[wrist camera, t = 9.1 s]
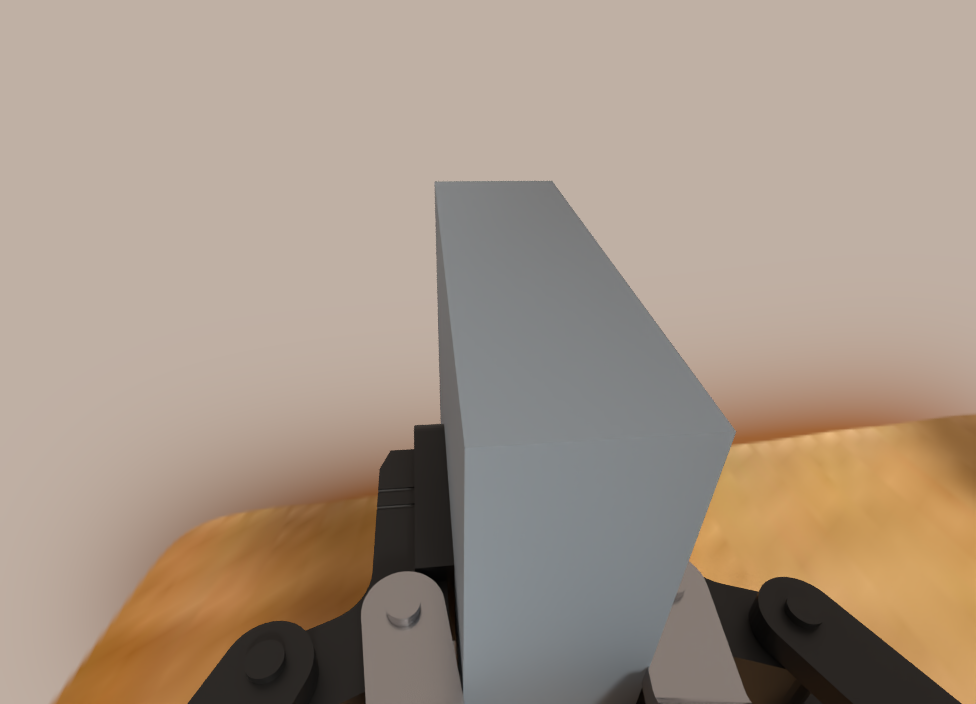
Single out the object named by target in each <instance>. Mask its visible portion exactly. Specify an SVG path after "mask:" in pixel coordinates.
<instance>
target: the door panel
mask: <svg viewBox="0 0 976 704" xmlns="http://www.w3.org/2000/svg"><path fill="white" fill-rule="evenodd" d="M435 215H436V255H437V290H438V291H437V293H438V331H439V332H438V333H439V371H440V410H441V424H444V428H445V442H446V456H447V470H448V484H449V498H450V512H451V526H452V540H453V554H454V582H455V641H453V646H454V651H455V656H456V662H457V667H458V672H459V677H460V682H461V687H462V693H463V698H464V703H465V704H636V702H637V700H638V697H639V694H640V691H641V689H642V684H641V683H642V680H643V677H644V675H645V672H646V669H647V666H650V664H651V662H652V659H653V656H654V653H655V651H656V648H657V645H658V643H659V640H660V637H661V634H662V632H663V629H664V626H665V624H666V621H667V618H668V615H669V613H670V610H671V607H672V605H673V602H674V599H675V596H676V594H677V591H678V588H679V585H680V583H681V580H682V577H683V575H684V572H685V569H686V566H687V564H688V561H689V558H690V556H691V553H692V550H693V547H694V545H695V542H696V539H697V537H698V534H699V531H700V528H701V526H702V523H703V520H704V518H705V515H706V512H707V509H708V507H709V504H710V501H711V499H712V496H713V493H714V490H715V488H716V485H717V482H718V480H719V477H720V474H721V471H722V469H723V466H724V463H725V461H726V458H727V455H728V452H729V450H730V447H731V444H732V442H733V438H734V436H735V433H736V431H735V429H734V428H733V427H732V425H731V424H730V423H729V421H728V420H727V419H726V417H725V416H724V415H723V413H722V412H721V410H720V409H719V408H718V406H717V405H716V404H715V402H714V401H713V400H712V398H711V397H710V395H709V394H708V393H707V391H706V390H705V389H704V387H703V386H702V385H701V383H700V382H699V380H698V379H697V378H696V376H695V375H694V374H693V372H692V371H691V370H690V368H689V367H688V366H687V364H686V363H685V361H684V360H683V359H682V357H681V356H680V355H679V353H678V352H677V350H676V349H675V348H674V346H673V345H672V344H671V342H670V341H669V340H668V339H667V337H666V336H665V334H664V333H663V332H662V330H661V329H660V328H659V326H658V325H657V323H656V322H655V321H654V319H653V318H652V316H651V315H650V314H649V312H648V311H647V310H646V308H645V307H644V306H643V304H642V303H641V302H640V300H639V299H638V297H637V296H636V295H635V293H634V292H633V291H632V289H631V288H630V286H629V285H628V284H627V282H626V281H625V280H624V278H623V277H622V276H621V274H620V273H619V272H618V270H617V269H616V267H615V266H614V265H613V264H612V262H611V261H610V259H609V258H608V257H607V255H606V254H605V252H604V251H603V250H602V248H601V247H600V246H599V244H598V243H597V242H596V241H595V239H594V237H593V236H592V235H591V233H590V232H589V231H588V229H587V228H586V227H585V225H584V224H583V222H582V221H581V220H580V218H579V217H578V216H577V214H576V213H575V212H574V210H573V209H572V208H571V206H570V205H569V204H568V202H567V201H566V200H565V198H564V197H563V195H562V194H561V193H560V191H559V190H558V188H557V187H556V186H555V184H554V183H553V182H552V181H471V182H470V181H462V182H461V181H460V182H459V181H456V182H455V181H454V182H435Z"/></svg>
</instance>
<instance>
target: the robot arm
mask: <svg viewBox="0 0 976 704" xmlns="http://www.w3.org/2000/svg"><path fill="white" fill-rule="evenodd" d="M379 474H380V475H379V487H378V492H379V493H378V502H377V516H376V531H375V546H374V560H373V573H372V579H371V582H370V585H369V587H368V589H367V591H366V593H365V594H364V596H363V597H362V599H361V600H360V601H359V602H358V603H357V604H356V605H355V606H354V607H353V608H352V609H350V610H349V611H348V612H346V613H345V614H343V615H341V616H339V617H337V618H335V619H333V620H331V621H328V622H326V623H323V624H321V625H319V626H316V627H314V628H311V629H309V630H307V631H305V630H304V629H303V628H302V627H300V626H298V625H297V624H294V623H291V622H287V621H273V622H269V623H265V624H262V625H259V626H257V627H255V628H253V629H251V630H249V631H248V632H247V633H245V634H244V635H242V636H241V637H240V638H239V639H238V640H237V641H236V642H235V643H234V644H233V645H232V646H231V647H230V649H229V650H228V651H227V653H226V654H225V655H224V656H223V658H222V659H221V660H220V662H219V663H218V664H217V666H216V667H215V668H214V670H213V671H212V672H211V674H210V675H209V676H208V678H207V679H206V680H205V681H204V683H203V684H202V685H201V687H200V688H199V689H198V691H197V692H196V693H195V695H194V696H193V697H192V699H191V700H190V701H189V702H188V704H465V703H464V698H463V693H462V687H461V682H460V677H459V672H458V667H457V662H456V656H455V651H454V646H453V641H455V582H454V554H453V540H452V526H451V512H450V498H449V484H448V470H447V456H446V442H445V428H444V424H433V425H415V426H414V449H411V450H395V451H390V453H389V454H388V456H387V458H386V459H385V461H384V463H383V464H382V466H381V468H380V473H379ZM641 684H642V689H641V691H640V694H639V697H638V700H637V702H636V704H961V703H960V702H959V701H958V700H956V699H955V698H954V697H953V696H951V695H950V694H949V693H948V692H946V691H945V690H944V689H943V688H942V687H940V686H939V685H938V684H937V683H935V682H934V681H933V680H932V679H930V678H929V677H928V676H927V675H925V674H924V673H923V672H922V671H920V670H919V669H918V668H917V667H915V666H914V665H913V664H912V663H910V662H909V661H908V660H907V659H905V658H904V657H903V656H902V655H900V654H899V653H898V652H897V651H895V650H894V649H893V648H892V647H890V646H889V645H888V644H887V643H886V642H884V641H883V640H882V639H881V638H879V637H878V636H877V635H876V634H874V633H873V632H872V631H871V630H869V629H868V628H867V627H866V626H864V625H863V624H862V623H861V622H859V621H858V620H857V619H856V618H854V617H853V616H852V615H851V614H849V613H848V612H847V611H846V610H844V609H843V608H842V607H841V606H839V605H838V604H837V603H836V602H834V601H833V600H832V599H831V598H829V597H828V596H827V595H826V594H824V593H823V592H822V591H820V590H819V589H818V588H816V587H814V586H812V585H811V584H808V583H806V582H804V581H801V580H798V579H795V578H789V577H777V578H773V579H770V580H768V581H767V582H765V583H764V584H763V585H762V587H761V589H760V590H759V592H757V591H753V590H748V589H743V588H739V587H734V586H730V585H725V584H721V583H717V582H714V581H711V580H709V579H706V578H705V577H703V576H702V574H701V573H700V572H699V571H698V569H697V568H696V567H695V566H694V565H692V564H691V563H690V562H689V561H688V564H687V566H686V569H685V572H684V575H683V577H682V580H681V583H680V585H679V588H678V591H677V594H676V596H675V599H674V602H673V605H672V607H671V610H670V613H669V615H668V618H667V621H666V624H665V626H664V629H663V632H662V634H661V637H660V640H659V643H658V645H657V648H656V651H655V653H654V656H653V659H652V662H651V664H650V666H647V669H646V672H645V675H644V677H643V680H642V683H641Z"/></svg>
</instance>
